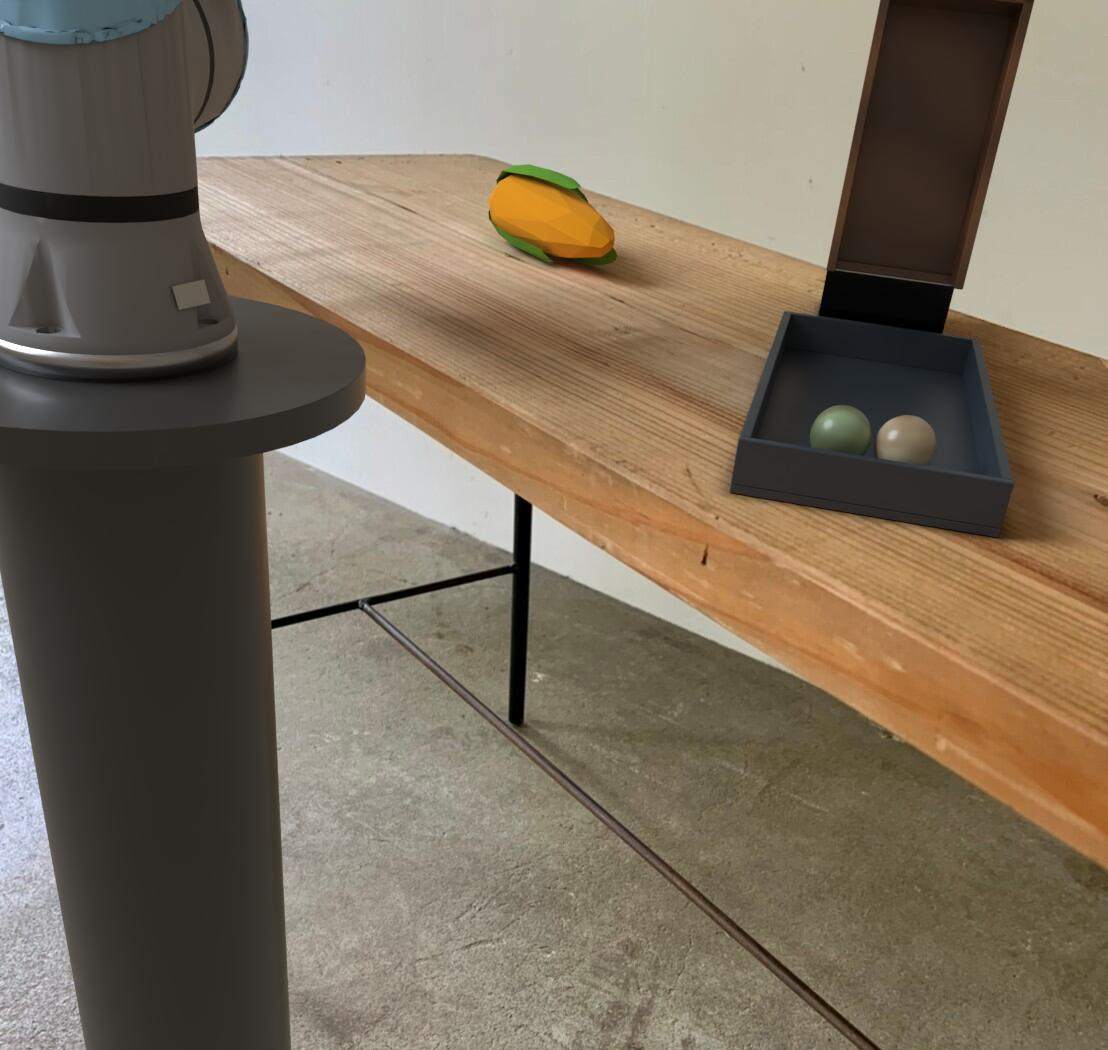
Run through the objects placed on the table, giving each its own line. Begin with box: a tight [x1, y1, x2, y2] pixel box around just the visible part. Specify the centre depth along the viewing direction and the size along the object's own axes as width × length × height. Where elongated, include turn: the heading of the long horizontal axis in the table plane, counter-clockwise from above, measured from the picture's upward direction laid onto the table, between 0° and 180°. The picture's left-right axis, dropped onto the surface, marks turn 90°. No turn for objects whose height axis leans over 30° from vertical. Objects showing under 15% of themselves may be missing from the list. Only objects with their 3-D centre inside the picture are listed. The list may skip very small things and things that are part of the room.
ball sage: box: [810, 405, 872, 456], centre depth 68 cm, size 3×3×3 cm
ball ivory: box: [874, 415, 937, 466], centre depth 67 cm, size 3×3×3 cm
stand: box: [817, 269, 955, 334], centre depth 97 cm, size 17×9×6 cm, turn 166°
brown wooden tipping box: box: [826, 0, 1035, 291], centre depth 80 cm, size 21×9×8 cm
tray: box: [729, 310, 1015, 538], centre depth 76 cm, size 31×14×3 cm, turn 166°
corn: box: [488, 163, 618, 266], centre depth 110 cm, size 7×8×20 cm
